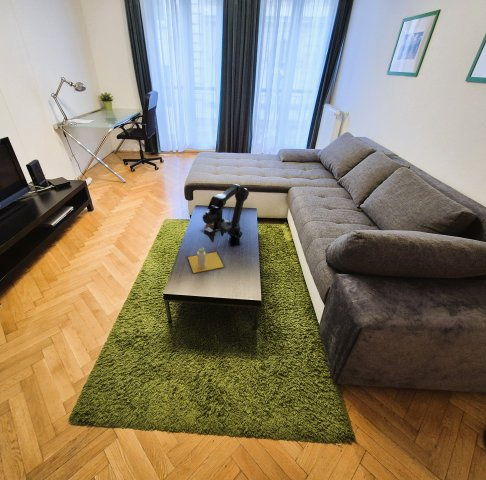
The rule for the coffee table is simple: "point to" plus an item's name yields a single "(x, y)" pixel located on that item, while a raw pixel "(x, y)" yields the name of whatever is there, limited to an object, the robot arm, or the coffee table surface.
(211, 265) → the cloth
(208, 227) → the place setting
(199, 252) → the bottle
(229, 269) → the coffee table surface
